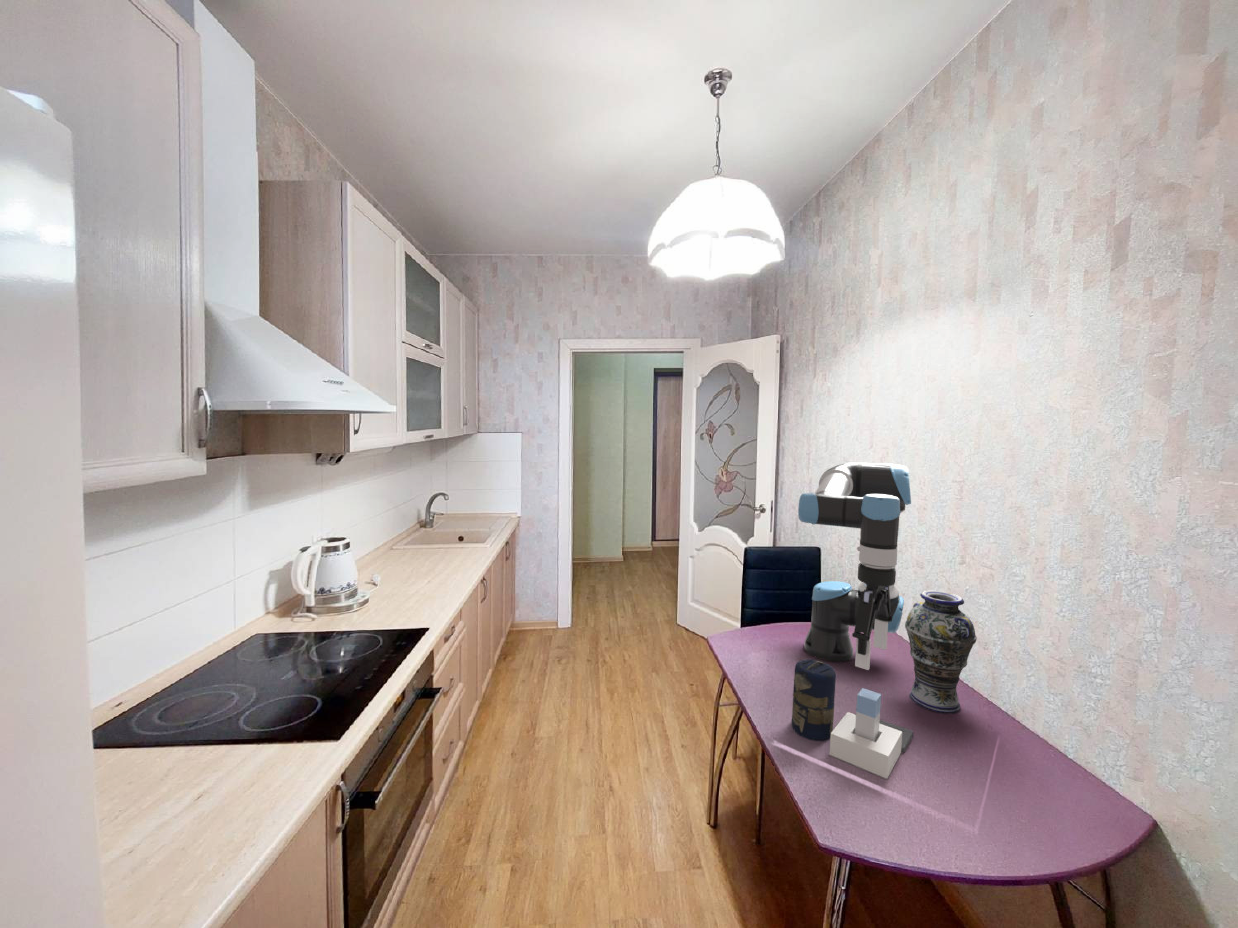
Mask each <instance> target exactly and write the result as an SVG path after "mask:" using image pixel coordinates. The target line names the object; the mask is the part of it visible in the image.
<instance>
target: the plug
mask: <svg viewBox="0 0 1238 928" xmlns="http://www.w3.org/2000/svg"><path fill="white" fill-rule="evenodd" d="M881 703H882V693H878V692H876V691H873V690H869V689H866V688H864V687H862V688H861V689H860V691H859V692H858V693H857V694H856V709H855V711H856V712H855V715H856V724H855V735H858V736H860V737H863V738H866V739H868V740H871V741H873V742H876V741H877V740H878V738H879V722H880V719H881Z"/></svg>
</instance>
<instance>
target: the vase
mask: <svg viewBox="0 0 1238 928" xmlns="http://www.w3.org/2000/svg"><path fill="white" fill-rule="evenodd" d="M919 596H920V597H921V599H922V600H924V601H919V602H915V603H914V604H913V607H912V608H911V610H910V611H909V613H908V615H907V618H906V621H905V623H904V628H905V629H906V633H907V636H908V642H909V646H910V647H909V648H910V652H909V653H910V655H911V657H912V661H913V666H914V667H913V671H914V682H913V684H912V688H911V691H910V693H909V694H908V695H909V699H910V700H911V701H912V702H913V703H915V704H916V705H918V706H919V707H921V708H923V709H926V710H928V711H931V712H934V713H939V714H957V713H960V711H961V710H962V709H961V708H962V707H961V705H960V701H959V697H958V692H957V687H958V684H959V682H960V676H961V673H962V671H963V669H964V668H966V667H967V665H968V659H969V656H970V653H971V651H972V649H973V646H974V645H975V644H976V642H977V640H978V639H977V635H976V631H975V630H976V629H975V626H974V623H973V622H972V620H971V619H970V617H969V616H968V615H966V614H965V613H964V612H963V611H961V610H960V609H959V607H960V606H962V605H964V604H965V600H964V599H963V598H962V597H961V596H960V595H957V594H955V593H953V592H952V593H951V592H947V591H943V590H924V591H922V592H921V593H920V594H919Z"/></svg>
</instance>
